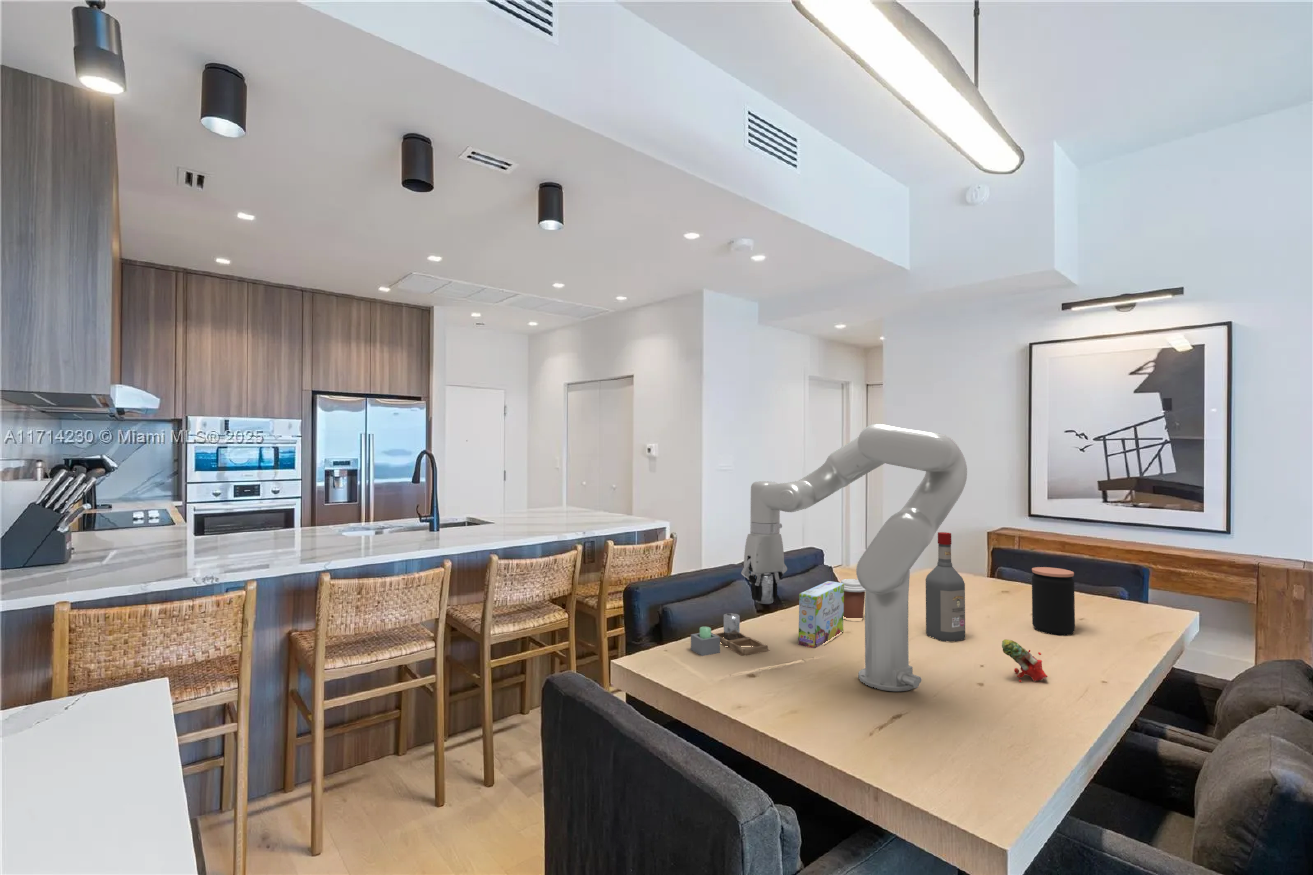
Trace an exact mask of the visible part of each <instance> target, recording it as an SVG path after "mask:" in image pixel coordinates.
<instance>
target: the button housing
mask: <svg viewBox="0 0 1313 875" xmlns="http://www.w3.org/2000/svg"><path fill="white" fill-rule="evenodd" d="M715 634H716V633H712V632H711V637H710V638H704V639H703V638H701V637H700V632H698V633H691V634H690V650H691V651H692V652H694V653H696V654H697V655H699V656H701V657H705V656H710V655H714V654H720V653H721V645H720V637H719V636H717V635H715Z"/></svg>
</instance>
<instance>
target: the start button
mask: <svg viewBox="0 0 1313 875" xmlns="http://www.w3.org/2000/svg"><path fill="white" fill-rule="evenodd" d="M699 633H700V637H701V638H703V639H704V638H710V637H711V633H712V628H711V627H709V626H700V627H699Z"/></svg>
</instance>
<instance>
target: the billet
mask: <svg viewBox="0 0 1313 875" xmlns="http://www.w3.org/2000/svg"><path fill="white" fill-rule="evenodd" d="M759 585H760V586H761V601H756V600H755V602H756V603H758V604H763V605H770V604H773V602H774V599H773V574H769V573H764V574H761V579H760V584H759Z"/></svg>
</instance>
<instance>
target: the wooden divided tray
mask: <svg viewBox="0 0 1313 875" xmlns="http://www.w3.org/2000/svg"><path fill="white" fill-rule="evenodd" d="M714 634H715V635H717V636H719V637H720V642H721V643H722V644H720V646H722V647H724V648H726V649H728V650H730V651H732V652H733V653H736V654H737V655H739V656H742V657H743V656H744V657H745V656H750V655H754V654H761V653H766V652H770V651H771V650H770V649H769V648H768V644H765V643H763V642H761V641H759V640H756V639H754V638H752V637H750V636H748V635H746V634H744V633H742V632H740V639H735V640H727V639H725V638H723V637H724V631H723V632H717V633H714ZM725 646H728V647H725ZM741 646H751V647H741ZM752 646H753V647H752Z"/></svg>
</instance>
